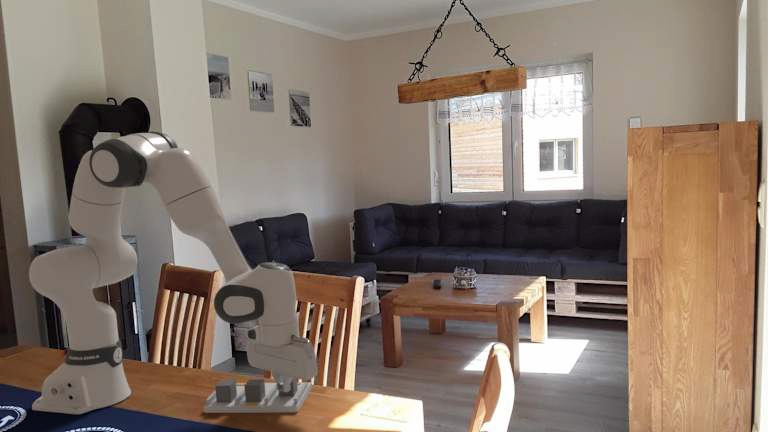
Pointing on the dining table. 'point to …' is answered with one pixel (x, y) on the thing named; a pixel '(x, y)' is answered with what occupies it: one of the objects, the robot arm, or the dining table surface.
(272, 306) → the robot arm
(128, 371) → the dining table surface
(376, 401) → the dining table surface
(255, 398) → the grey cubic block
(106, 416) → the dining table surface
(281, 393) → the grey cube
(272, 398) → the switch board
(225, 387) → the gray cube
